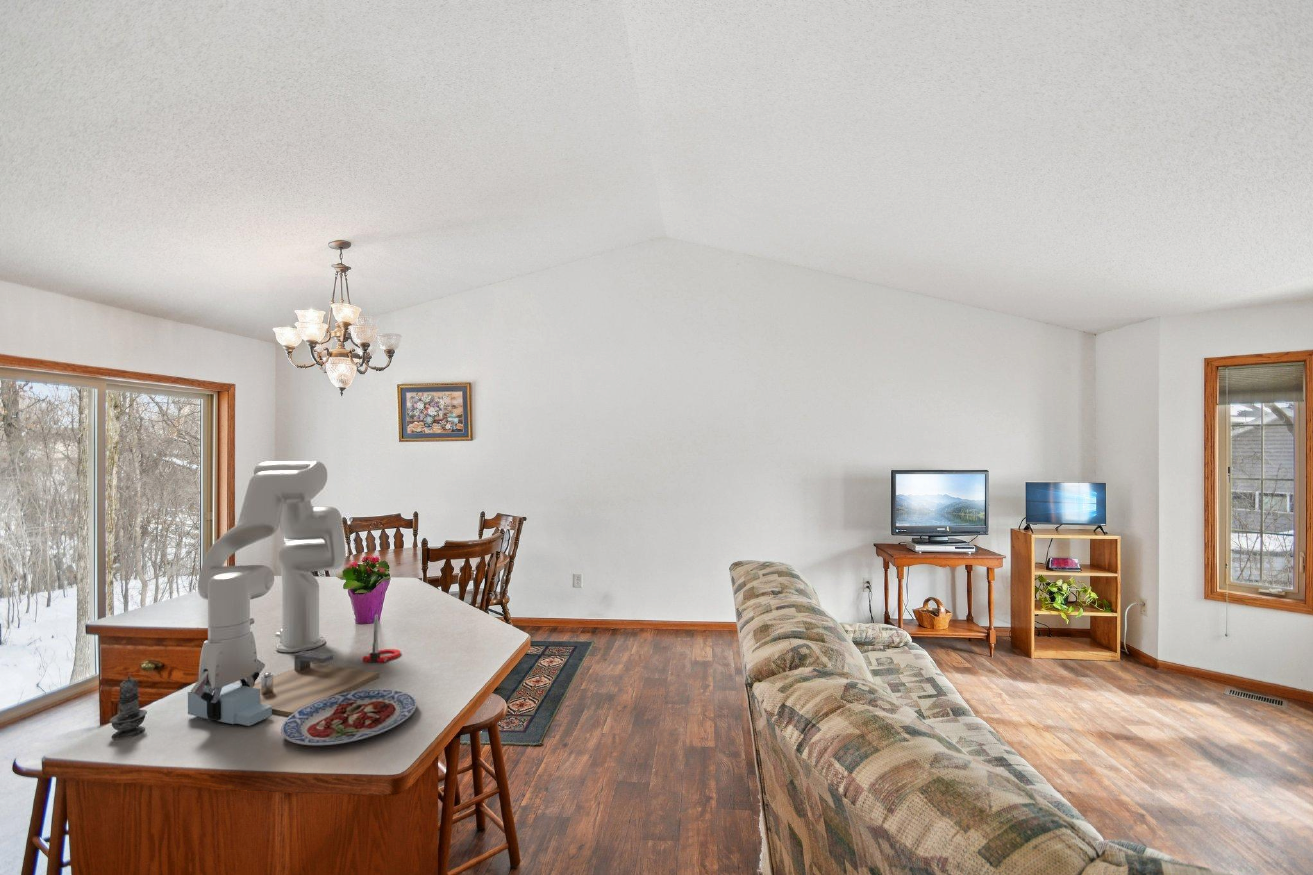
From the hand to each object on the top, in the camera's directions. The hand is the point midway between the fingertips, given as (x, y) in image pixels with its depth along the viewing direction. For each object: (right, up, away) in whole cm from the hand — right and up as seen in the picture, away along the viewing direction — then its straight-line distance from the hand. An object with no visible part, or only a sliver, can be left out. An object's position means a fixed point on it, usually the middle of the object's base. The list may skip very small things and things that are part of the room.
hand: (230, 711), depth 130 cm
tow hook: (+16, -2, +37) cm, 41 cm away
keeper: (+4, -1, +24) cm, 25 cm away
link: (0, -1, 0) cm, 1 cm away
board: (+7, -2, +15) cm, 17 cm away
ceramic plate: (+28, -2, -3) cm, 28 cm away
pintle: (+1, -2, +11) cm, 11 cm away
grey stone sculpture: (-16, -2, -7) cm, 18 cm away
